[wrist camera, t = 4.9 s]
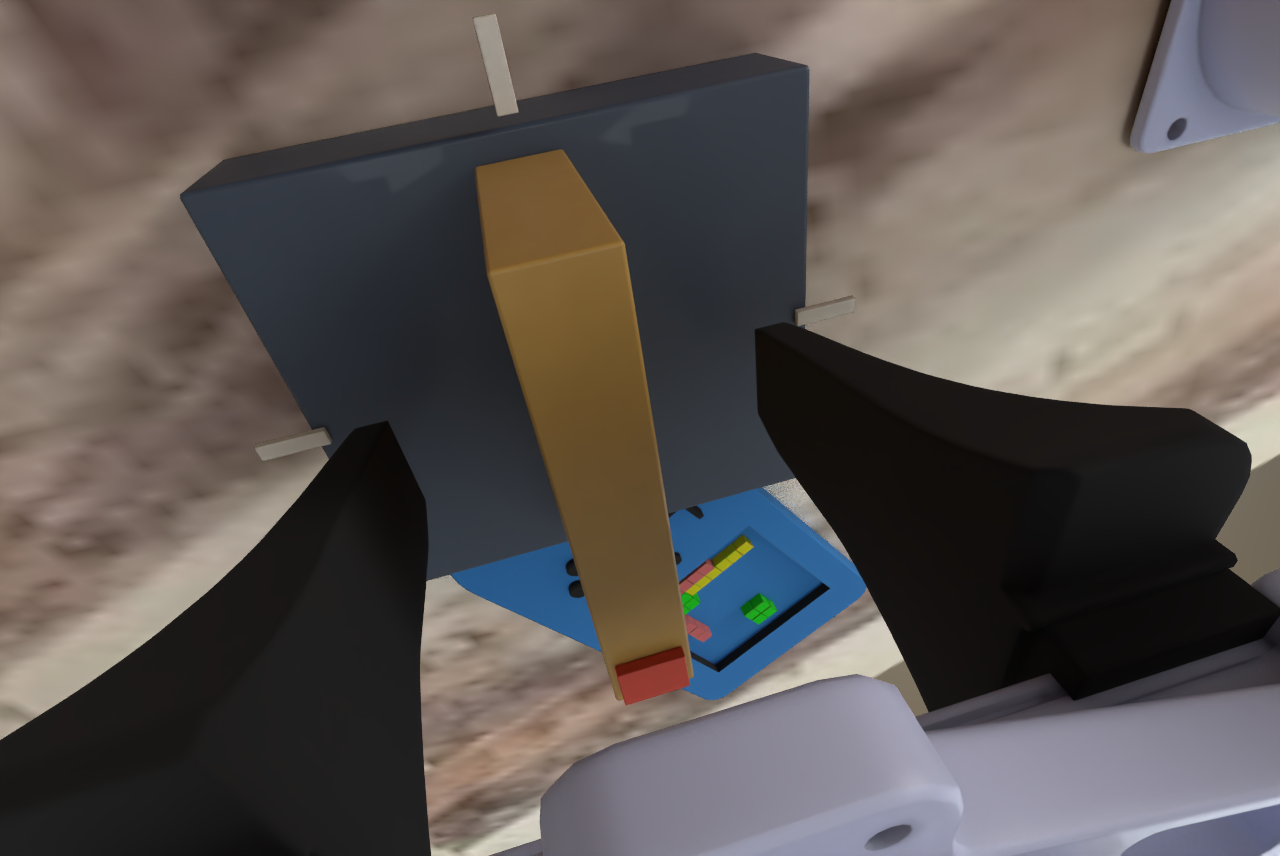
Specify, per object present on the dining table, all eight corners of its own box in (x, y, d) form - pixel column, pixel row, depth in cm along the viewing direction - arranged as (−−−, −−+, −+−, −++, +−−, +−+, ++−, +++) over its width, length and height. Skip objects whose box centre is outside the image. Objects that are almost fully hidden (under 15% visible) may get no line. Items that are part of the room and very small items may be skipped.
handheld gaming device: (612, 374, 16) (879, 593, 24) (603, 353, 17) (863, 572, 25) (405, 571, 18) (717, 710, 26) (406, 544, 19) (708, 687, 27)
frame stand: (106, 78, 11) (25, 100, 9) (807, -52, 13) (880, -58, 10) (389, 570, 19) (382, 643, 17) (800, 456, 20) (840, 511, 18)
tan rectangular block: (473, 167, 11) (486, 280, 7) (563, 147, 11) (630, 246, 7) (576, 527, 16) (620, 714, 12) (636, 511, 17) (698, 689, 12)
